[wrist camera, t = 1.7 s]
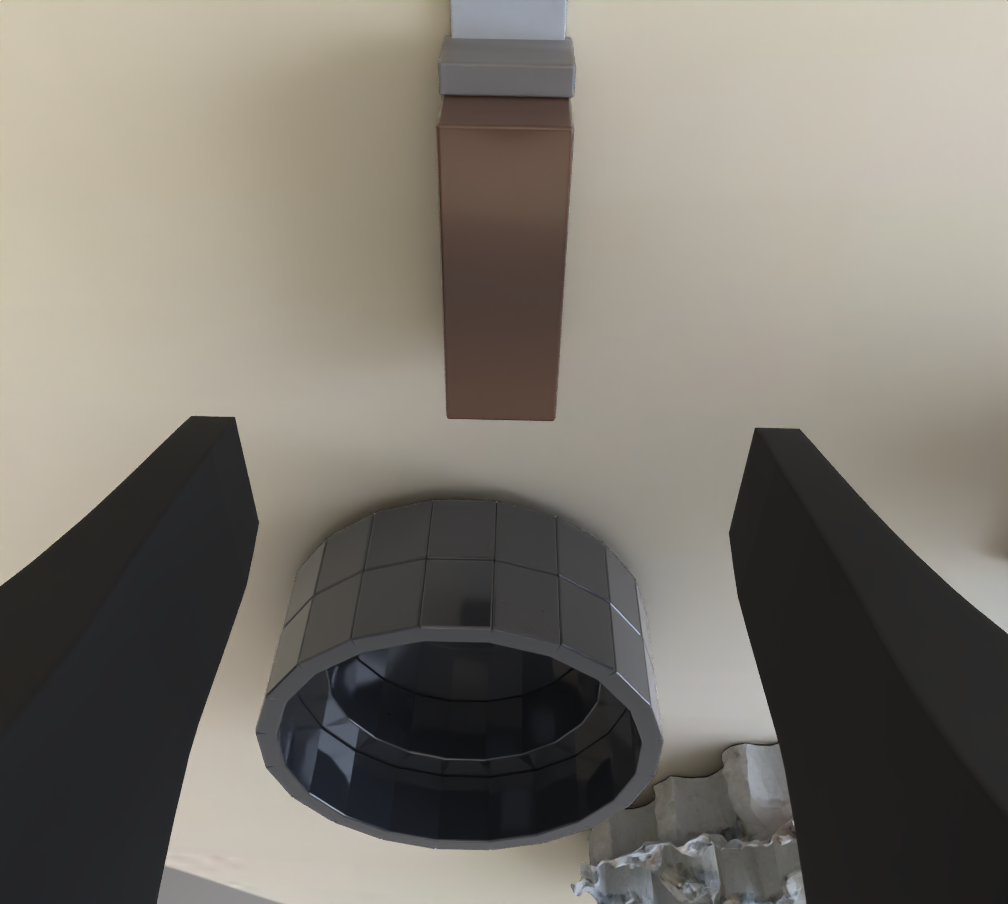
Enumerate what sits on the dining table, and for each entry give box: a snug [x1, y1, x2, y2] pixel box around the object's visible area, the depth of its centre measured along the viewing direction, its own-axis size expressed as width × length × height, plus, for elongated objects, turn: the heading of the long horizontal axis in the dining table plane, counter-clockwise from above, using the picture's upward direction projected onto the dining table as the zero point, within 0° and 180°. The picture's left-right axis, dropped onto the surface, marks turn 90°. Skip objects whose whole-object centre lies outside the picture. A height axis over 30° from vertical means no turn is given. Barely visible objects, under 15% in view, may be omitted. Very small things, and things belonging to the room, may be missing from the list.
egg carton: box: [571, 743, 806, 904], centre depth 35 cm, size 11×8×4 cm
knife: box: [436, 0, 576, 421], centre depth 16 cm, size 16×2×3 cm, turn 179°
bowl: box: [256, 499, 664, 850], centre depth 27 cm, size 11×11×5 cm
